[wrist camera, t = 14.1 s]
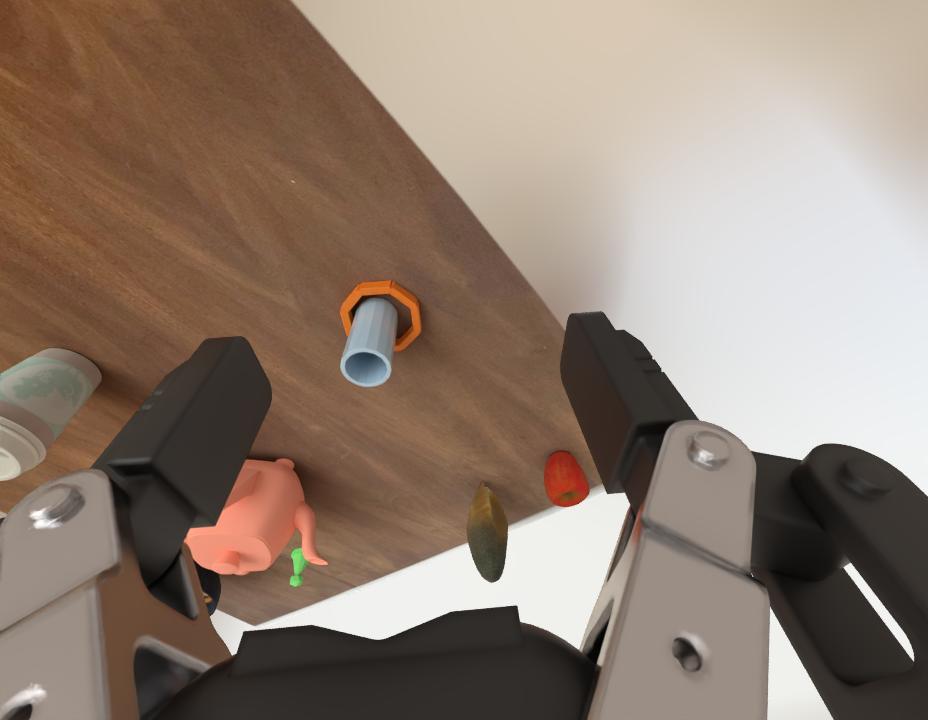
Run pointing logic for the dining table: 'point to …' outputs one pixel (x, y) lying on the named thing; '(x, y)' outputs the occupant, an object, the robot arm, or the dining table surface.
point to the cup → (370, 343)
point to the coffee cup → (40, 405)
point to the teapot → (257, 521)
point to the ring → (396, 292)
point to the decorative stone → (487, 534)
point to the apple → (565, 480)
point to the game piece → (298, 567)
